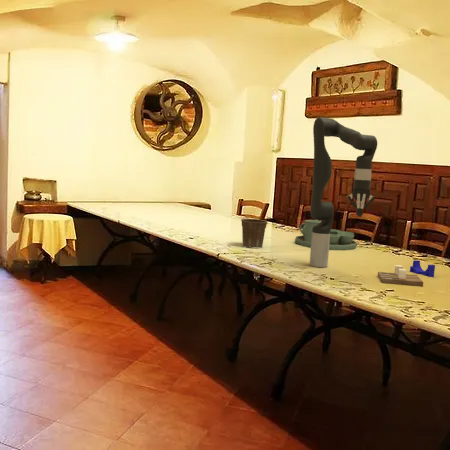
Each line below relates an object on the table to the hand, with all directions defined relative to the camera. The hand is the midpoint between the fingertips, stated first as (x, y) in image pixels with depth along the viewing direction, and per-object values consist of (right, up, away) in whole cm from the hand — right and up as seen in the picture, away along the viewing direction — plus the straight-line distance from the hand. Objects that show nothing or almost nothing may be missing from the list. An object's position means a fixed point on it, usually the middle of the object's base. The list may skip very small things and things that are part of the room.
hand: (359, 216), depth 238 cm
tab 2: (+19, -28, -2) cm, 34 cm away
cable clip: (+37, -29, +21) cm, 52 cm away
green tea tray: (+4, -17, +100) cm, 101 cm away
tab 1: (+20, -27, +6) cm, 35 cm away
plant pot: (-45, -17, +76) cm, 90 cm away
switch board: (+19, -30, +2) cm, 36 cm away
